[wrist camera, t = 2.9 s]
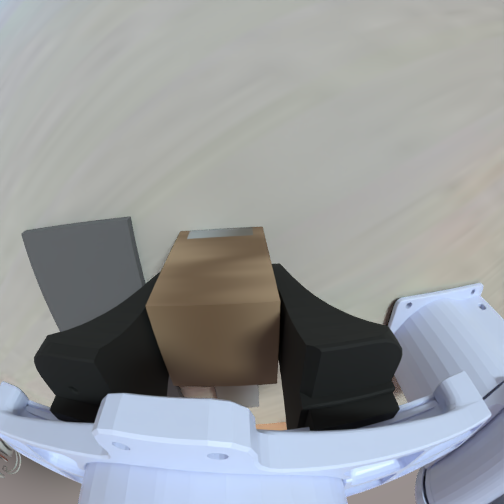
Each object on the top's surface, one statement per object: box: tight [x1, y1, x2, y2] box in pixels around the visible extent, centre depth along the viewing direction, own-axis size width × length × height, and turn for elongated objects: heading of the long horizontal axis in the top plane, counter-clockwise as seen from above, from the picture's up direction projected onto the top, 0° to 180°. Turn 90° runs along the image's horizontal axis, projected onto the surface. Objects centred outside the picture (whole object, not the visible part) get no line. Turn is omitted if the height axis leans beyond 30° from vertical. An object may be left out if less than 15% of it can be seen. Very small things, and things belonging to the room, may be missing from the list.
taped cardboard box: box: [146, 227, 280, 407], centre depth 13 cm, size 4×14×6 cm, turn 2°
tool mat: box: [22, 217, 183, 398], centre depth 16 cm, size 8×18×1 cm, turn 2°
